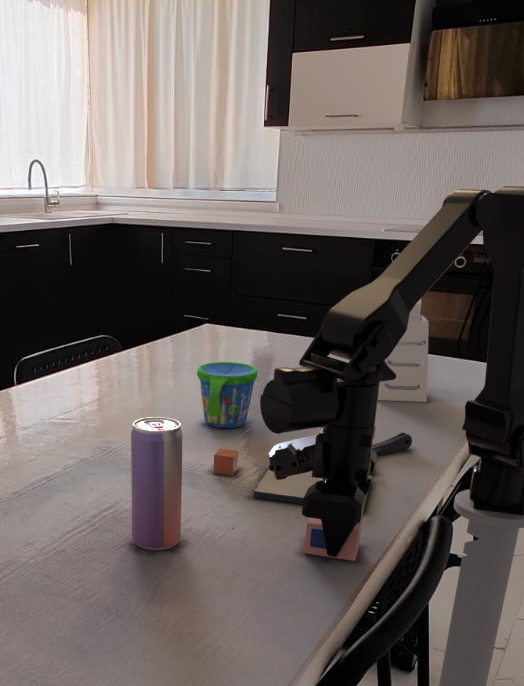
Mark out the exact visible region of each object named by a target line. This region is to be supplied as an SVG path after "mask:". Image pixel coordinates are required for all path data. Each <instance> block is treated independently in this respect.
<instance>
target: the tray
mask: <svg viewBox="0 0 524 686" xmlns="http://www.w3.org/2000/svg"><path fill="white" fill-rule="evenodd" d="M368 478H369V479H371V480H372V481H373V475H369V476H368ZM319 480H320V478H314V477H312V471H310V472H307V473H302V474H297V475H293V476H288V477H286V479H282V480H277V479H276V478H275V475H274V471H270V470H269V468H268V469H267V471H266V472H265V474H264V475H263V477H262V478H261V480H260V481H259V483H258V485H257V486H256V487H255V489H254V490H253V498H254V499H262V500H268V501H274V502H275V501H276V502H283V503H284V502H285V503H291V504H297V505H303V498H304V496H305V494H306V492H307V490H308V488H309V487H310V486H312V485H313V484H314V483H316V482H317V481H319ZM319 482H320V481H319ZM370 489H371V487H370V488H369V490H368V492H367V494H366V496H365V503H364V508H365V507H366V503H367V500H368V496H369V493H370ZM364 510H365V509H364ZM364 510H363V512H364Z"/></svg>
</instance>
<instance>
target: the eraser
mask: <svg viewBox="0 0 524 686" xmlns="http://www.w3.org/2000/svg"><path fill="white" fill-rule="evenodd" d="M307 519H308V520H307V522H306V527H305V530H306V531H305V538H304V539H305V540H304V550H303V553H304V554H307V555H314V556H320V557H327V558H332V559H340V560H344V561H345V560H346V561H352V562H355V561H356V559H357V555H358V552H359V549H360V540H361V533H362V525H363V517H362V518H361V522H360V523H357V524H356V526H355V527H354V529H353V531H352V532H351V534H350V535H349V537H348V539H347V540H346V542H345V544H344V545H343V547H342V549H341V550H340V552H339V554H338V555H337V557H332V556H328V555H327V550H326V544H325V539H324V533H323V527H322V522H321V519H316V518H309V517H308V518H307Z"/></svg>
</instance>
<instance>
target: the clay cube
mask: <svg viewBox="0 0 524 686" xmlns="http://www.w3.org/2000/svg"><path fill="white" fill-rule="evenodd" d="M238 462H239V450H235V449H226V448H218V450H216V452H215V453H214V455H213V474H217V475H218V474H219V475H226V476H234V474H235V473H236V472H237V471H238V465H239V464H238Z"/></svg>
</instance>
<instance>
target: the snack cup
mask: <svg viewBox="0 0 524 686" xmlns="http://www.w3.org/2000/svg"><path fill="white" fill-rule="evenodd" d="M196 375H197V378H198V380H199V382H200V393H201V403H202V409H203V418H204V422H205V425H210V426H212V427H214V428H219V429H235V428H240V427H242V426H243V425H245V423H246V421H247V419H248V414H249V410H250V405H251V400H252V395H253V390H254V384H255V381H256V379H257V377H258V369H257V367H255V366H254V365H251V364H247V363H243V362H235V361H234V362H233V361H218V362H217V361H216V362H208V363H204V364H200V365H199V366H198V368H197V371H196Z"/></svg>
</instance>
